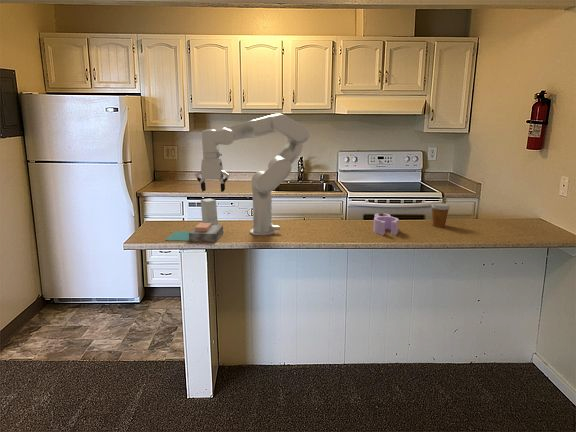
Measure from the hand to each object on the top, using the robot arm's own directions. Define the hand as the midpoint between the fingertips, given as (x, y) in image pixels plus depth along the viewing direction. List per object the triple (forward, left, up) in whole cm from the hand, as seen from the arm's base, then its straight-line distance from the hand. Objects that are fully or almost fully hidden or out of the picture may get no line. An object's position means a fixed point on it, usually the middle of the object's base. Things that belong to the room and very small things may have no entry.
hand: (213, 191), depth 218 cm
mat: (+17, +1, -23) cm, 28 cm away
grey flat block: (+4, +1, -23) cm, 23 cm away
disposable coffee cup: (-117, -31, -23) cm, 123 cm away
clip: (-86, -19, -23) cm, 91 cm away
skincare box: (+7, -19, -23) cm, 31 cm away
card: (+5, +1, -19) cm, 20 cm away
